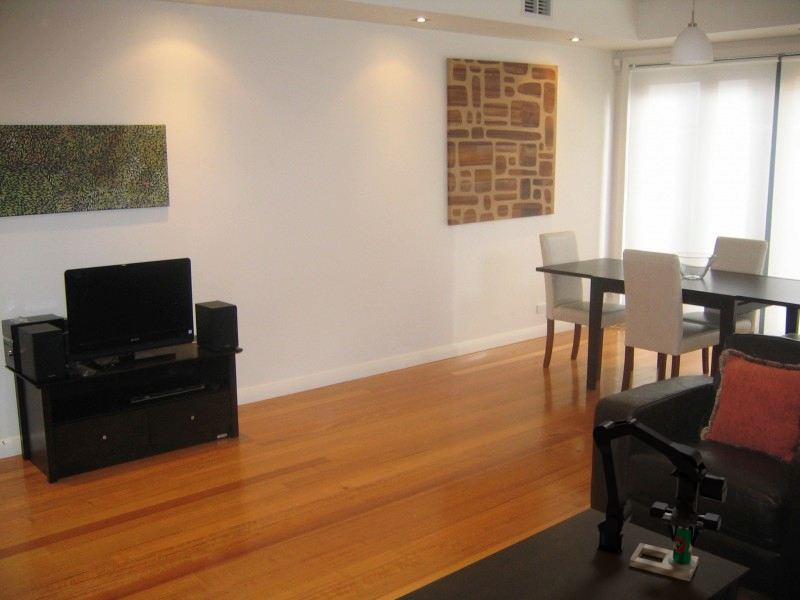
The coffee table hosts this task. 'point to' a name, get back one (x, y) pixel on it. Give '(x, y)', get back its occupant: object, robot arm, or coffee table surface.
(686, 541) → the soda can
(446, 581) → the coffee table surface
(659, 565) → the pocket board
